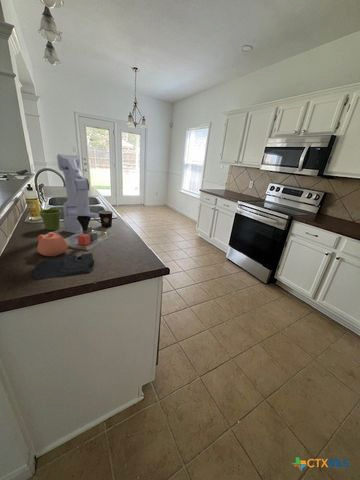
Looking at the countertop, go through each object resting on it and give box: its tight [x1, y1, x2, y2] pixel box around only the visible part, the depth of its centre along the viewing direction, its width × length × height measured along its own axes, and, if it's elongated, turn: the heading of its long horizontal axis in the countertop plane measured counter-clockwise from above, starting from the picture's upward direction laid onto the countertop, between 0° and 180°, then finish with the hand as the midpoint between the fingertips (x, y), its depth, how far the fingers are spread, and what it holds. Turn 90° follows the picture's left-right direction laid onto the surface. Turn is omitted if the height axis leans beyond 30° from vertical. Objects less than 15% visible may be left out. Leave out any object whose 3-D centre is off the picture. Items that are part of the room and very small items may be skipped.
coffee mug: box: [92, 210, 113, 229], centre depth 137 cm, size 12×9×10 cm
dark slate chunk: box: [32, 252, 95, 281], centre depth 84 cm, size 15×22×5 cm
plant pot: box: [37, 208, 62, 231], centre depth 124 cm, size 12×12×11 cm
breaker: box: [81, 225, 92, 234], centre depth 119 cm, size 3×4×4 cm
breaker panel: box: [64, 229, 114, 252], centre depth 113 cm, size 18×24×2 cm
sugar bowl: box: [37, 231, 69, 257], centre depth 94 cm, size 12×14×10 cm
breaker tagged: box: [88, 232, 97, 241], centre depth 110 cm, size 3×4×4 cm
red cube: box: [78, 234, 90, 245], centre depth 104 cm, size 4×4×4 cm
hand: (85, 230), depth 103 cm, fingers closed
